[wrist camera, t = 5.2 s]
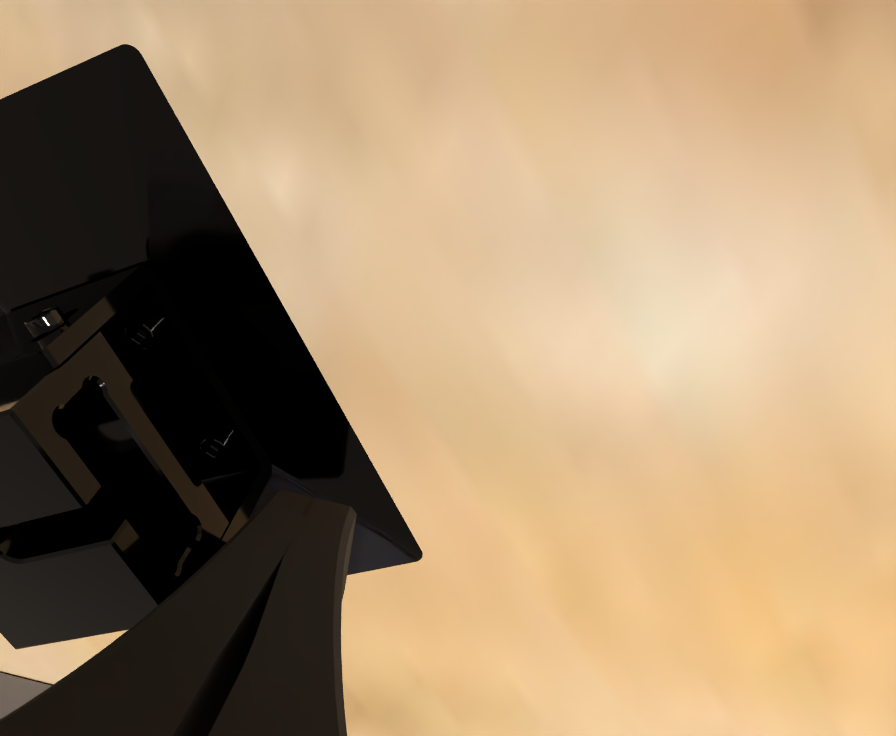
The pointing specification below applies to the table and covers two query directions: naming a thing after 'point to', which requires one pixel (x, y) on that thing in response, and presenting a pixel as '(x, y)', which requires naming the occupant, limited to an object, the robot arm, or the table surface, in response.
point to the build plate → (143, 367)
